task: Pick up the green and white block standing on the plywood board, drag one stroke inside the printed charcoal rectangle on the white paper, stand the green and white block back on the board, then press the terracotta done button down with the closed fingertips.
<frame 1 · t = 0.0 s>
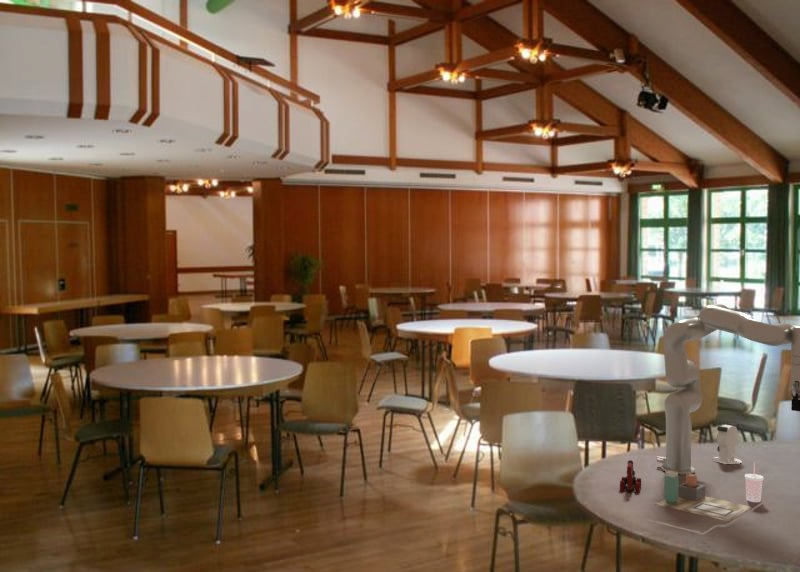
beverage cup: (753, 502, 283), on the table
board: (703, 507, 277), on the table
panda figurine: (727, 461, 335), on the table
done button: (691, 482, 286), point 6 cm above the table, slide at 0.0 cm
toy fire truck: (630, 490, 296), on the table
button housing: (691, 496, 286), resting on board
green and white block: (671, 502, 280), point 1 cm above the table, touching board
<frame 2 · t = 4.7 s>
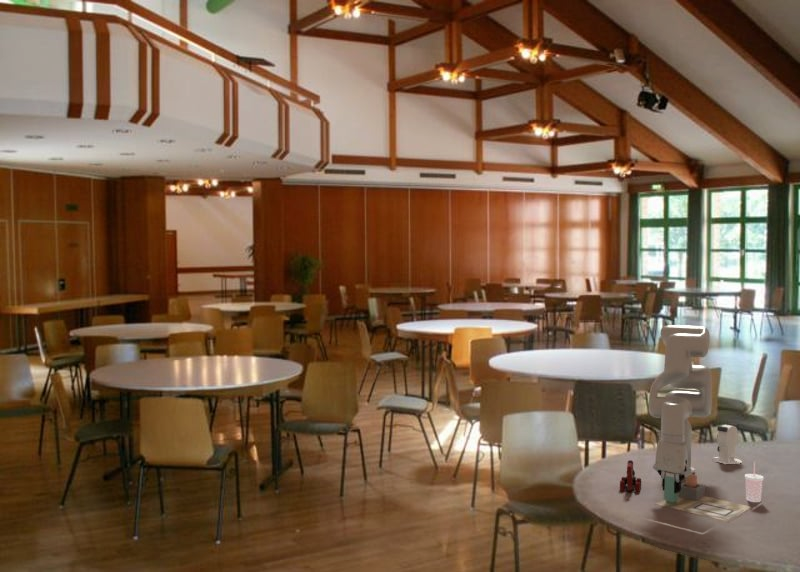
hand: (671, 490, 280), 5 cm above the table, tool pointing down, fingers closed on green and white block, 3 cm apart
green and white block: (671, 502, 280), point 1 cm above the table, touching board, gripper
everything else where it was.
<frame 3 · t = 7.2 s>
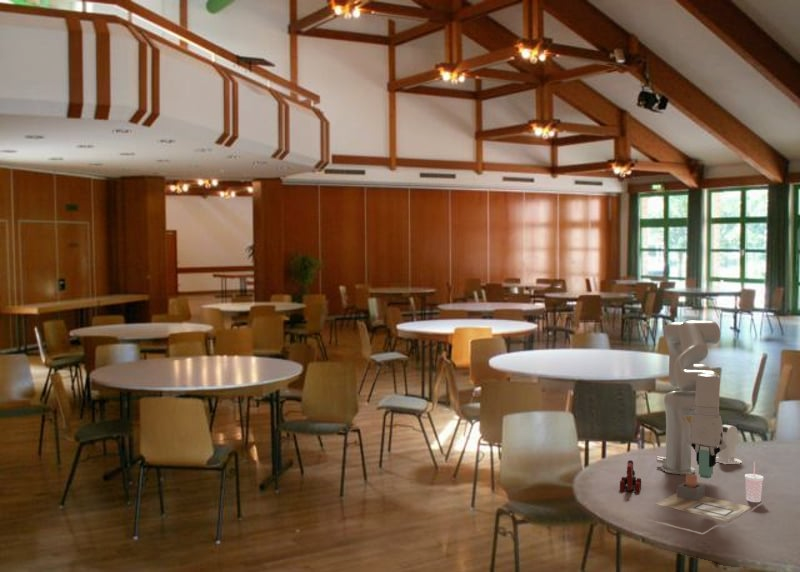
hand: (706, 464, 274), 15 cm above the table, tool pointing down, fingers closed on green and white block, 3 cm apart
green and white block: (705, 477, 274), point 11 cm above the table, touching gripper
everything else where it was.
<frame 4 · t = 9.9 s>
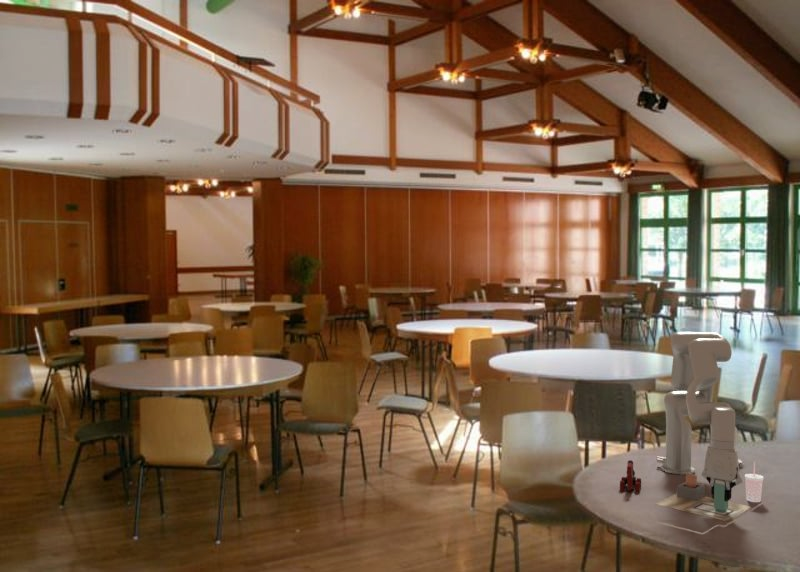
hand: (721, 498, 271), 5 cm above the table, tool pointing down, fingers closed on green and white block, 3 cm apart
green and white block: (720, 510, 271), point 1 cm above the table, touching gripper
everything else where it was.
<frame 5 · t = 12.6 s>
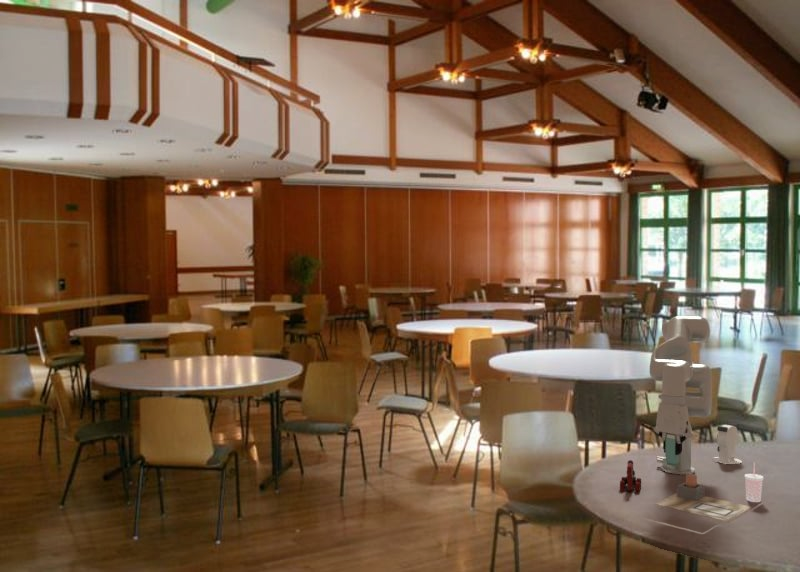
hand: (672, 452, 279), 18 cm above the table, tool pointing down, fingers closed on green and white block, 3 cm apart
green and white block: (672, 464, 279), point 14 cm above the table, touching gripper
everything else where it was.
when the fingers open (5 cm above the table, at t = 15.2 s): green and white block stays where it is, resting on board.
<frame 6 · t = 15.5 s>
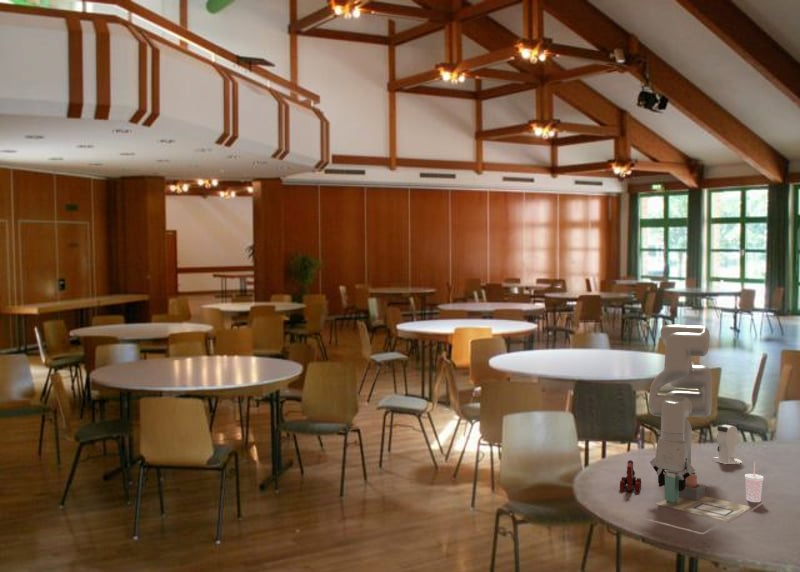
hand: (671, 487, 279), 6 cm above the table, tool pointing down, fingers open, 6 cm apart
green and white block: (671, 502, 280), point 1 cm above the table, touching board
everything else where it was.
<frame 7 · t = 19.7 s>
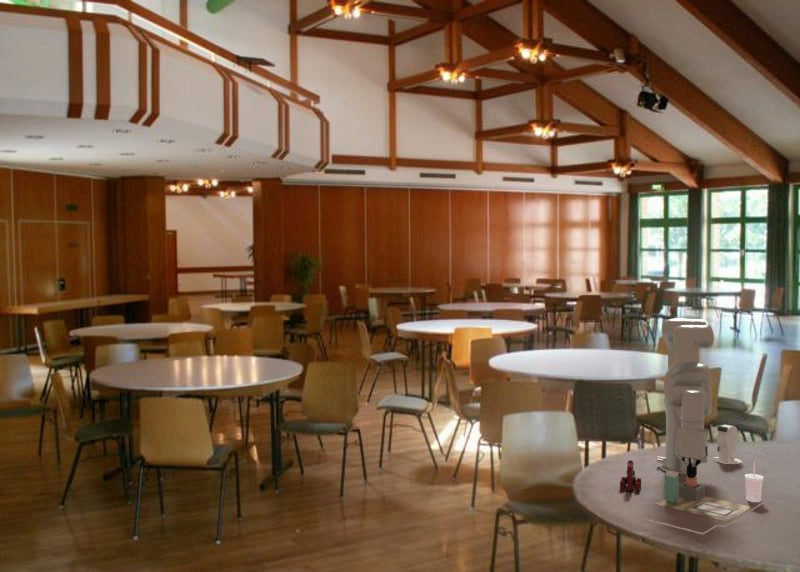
hand: (691, 476, 286), 8 cm above the table, tool pointing down, fingers closed
done button: (691, 483, 286), point 5 cm above the table, slide at 0.5 cm, touching gripper
everything else where it was.
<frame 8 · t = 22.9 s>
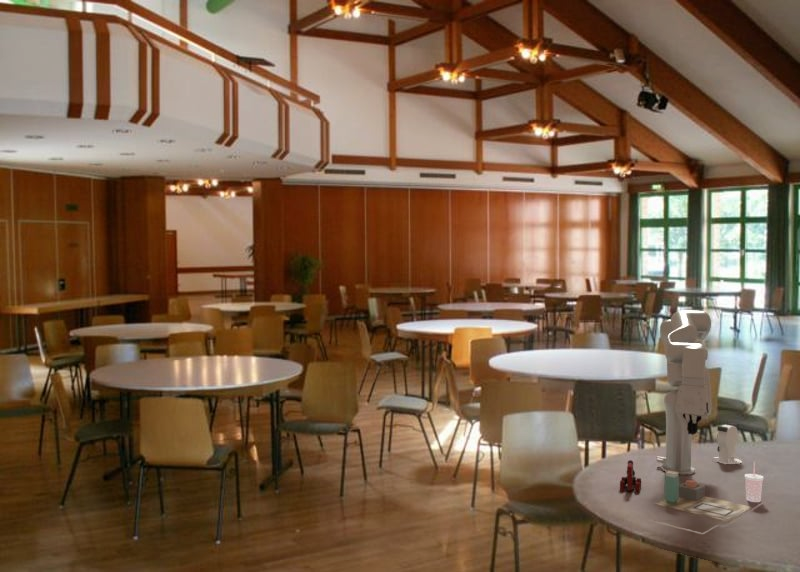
hand: (692, 433, 285), 23 cm above the table, tool pointing down, fingers closed
done button: (691, 488, 286), point 4 cm above the table, slide at 2.1 cm
everything else where it was.
at the end: done button slide at 2.1 cm; green and white block tilted 0°; green and white block inside the target area (0.1 cm from its centre), point 0.6 cm above the table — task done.
